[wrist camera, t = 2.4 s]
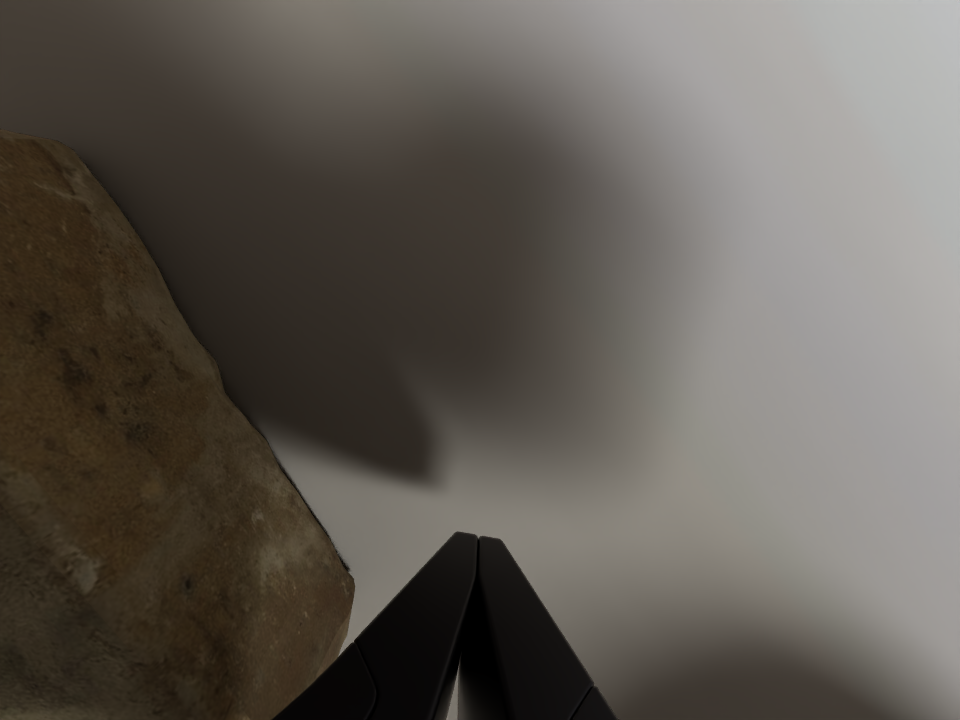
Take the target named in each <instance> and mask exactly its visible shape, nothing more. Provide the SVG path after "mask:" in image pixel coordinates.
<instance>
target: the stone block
mask: <svg viewBox="0 0 960 720" xmlns="http://www.w3.org/2000/svg"><path fill="white" fill-rule="evenodd" d="M354 591H355V584H354V579H353V577H352V576H351V575H350V574H349V573H348V572H347V570H346V569H345V568H344V567H343V565H342V563H341V561H340V559H339V557H338V555H337V553H336V551H335V549H334V547H333V545H332V543H331V541H330V539H329V538H328V536H327V535H326V534H325V532H324V531H323V530H322V528H321V527H320V525H319V524H318V523H317V521H316V520H315V519H314V517H313V516H312V514H311V512H310V511H309V509H308V508H307V506H306V505H305V503H304V502H303V500H302V498H301V497H300V495H299V494H298V492H297V491H296V490H295V488H294V487H293V486H292V484H291V483H290V482H289V480H288V479H287V478H286V476H285V475H284V473H283V472H282V471H281V469H280V468H279V466H278V464H277V461H276V459H275V457H274V455H273V453H272V451H271V449H270V447H269V445H268V442H267V441H266V440H265V439H264V438H263V437H262V436H261V435H260V433H259V432H258V431H257V430H256V429H255V428H254V427H253V426H252V425H251V424H250V423H249V422H248V420H247V419H246V417H245V416H244V415H243V414H242V413H241V412H240V411H239V409H238V408H237V407H236V406H235V405H234V404H233V403H232V401H231V400H230V399H229V397H228V396H227V395H226V393H225V392H224V388H223V384H222V380H221V376H220V372H219V368H218V365H217V363H216V361H215V360H214V358H213V357H212V356H211V355H210V354H209V353H208V352H207V351H206V350H205V349H204V347H203V346H202V345H201V344H200V343H199V342H198V341H197V340H196V338H195V337H194V335H193V334H192V332H191V331H190V329H189V327H188V325H187V324H186V322H185V320H184V319H183V317H182V315H181V313H180V312H179V310H178V308H177V306H176V305H175V303H174V301H173V299H172V297H171V295H170V292H169V290H168V288H167V286H166V284H165V282H164V280H163V277H162V275H161V273H160V271H159V269H158V267H157V266H156V264H155V262H154V261H153V259H152V257H151V256H150V254H149V253H148V251H147V249H146V248H145V246H144V244H143V243H142V241H141V239H140V238H139V236H138V235H137V233H136V232H135V230H134V229H133V228H132V226H131V225H130V223H129V222H128V220H127V219H126V218H125V216H124V215H123V213H122V212H121V210H120V209H119V208H118V206H117V205H116V203H115V202H114V201H113V200H112V198H111V197H110V196H109V195H108V193H107V192H106V191H105V190H104V188H103V187H102V186H101V185H100V183H99V182H98V181H97V180H96V178H95V177H94V176H93V175H92V173H91V172H90V171H89V170H88V168H87V167H86V166H85V164H84V163H83V162H82V161H81V159H80V158H79V157H78V156H77V154H76V153H75V152H74V151H73V149H71V148H69V147H68V146H66V145H64V144H62V143H60V142H58V141H56V140H50V139H45V138H40V137H35V136H30V135H24V134H19V133H14V132H10V131H7V130H3V129H0V720H271V719H272V718H274V717H275V716H276V715H277V714H278V713H279V712H281V711H282V710H283V709H284V708H285V707H286V706H287V705H288V704H290V703H291V702H292V701H293V700H294V699H295V698H296V697H298V696H299V695H300V694H301V693H302V692H303V691H304V690H305V689H307V688H308V687H309V686H310V685H311V684H312V683H313V682H314V681H315V680H316V679H317V678H318V677H319V676H320V675H321V674H322V673H323V672H324V671H325V670H326V669H327V668H328V667H329V666H330V665H331V664H332V663H333V662H334V661H335V660H336V659H337V658H338V655H339V652H340V649H341V647H342V644H343V642H344V640H345V638H346V636H347V632H348V626H349V620H350V615H351V609H352V604H353V598H354Z"/></svg>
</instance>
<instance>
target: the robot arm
mask: <svg viewBox="0 0 960 720" xmlns="http://www.w3.org/2000/svg"><path fill="white" fill-rule="evenodd" d="M459 662H460V663H459ZM458 666H459V675H458V720H619V719H618V718H617V717H616V715H615V714H614V712H613V711H612V709H611V708H610V706H609V705H608V703H607V702H606V700H605V698H604V697H603V695H602V694H601V692H600V691H599V689H598V688H597V687H596V686H594V682H593V680H592V679H591V677H590V676H589V674H588V673H587V671H586V669H585V668H584V666H583V665H582V663H581V662H580V660H579V659H578V657H577V656H576V654H575V652H574V651H573V649H572V648H571V646H570V645H569V643H568V642H567V640H566V639H565V637H564V635H563V634H562V632H561V631H560V629H559V628H558V626H557V625H556V623H555V622H554V620H553V618H552V617H551V615H550V614H549V612H548V611H547V609H546V608H545V606H544V605H543V603H542V601H541V600H540V598H539V597H538V595H537V594H536V592H535V591H534V589H533V588H532V586H531V584H530V583H529V581H528V580H527V578H526V577H525V575H524V574H523V572H522V571H521V569H520V567H519V566H518V564H517V563H516V561H515V560H514V558H513V557H512V555H511V554H510V552H509V550H508V549H507V547H506V546H505V544H504V543H503V541H502V540H500V539H498V538H492V537H486V536H480V537H479V539H478V537H477V536H476V535H475V534H470V533H464V532H455V533H454V534H453V535H452V536H451V537H450V538H449V539H448V541H447V542H446V543H445V544H444V545H443V546H442V547H441V548H440V549H439V550H438V551H437V552H436V553H435V554H434V556H433V557H432V558H431V559H430V560H429V561H428V562H427V563H426V564H425V565H424V566H423V567H422V568H421V569H420V570H419V572H418V573H417V574H416V575H415V576H414V577H413V578H412V579H411V580H410V581H409V582H408V583H407V584H406V585H405V586H404V588H403V589H402V590H401V591H400V592H399V593H398V594H397V595H396V596H395V597H394V598H393V599H392V600H391V601H390V603H389V604H388V605H387V606H386V607H385V608H384V609H383V610H382V611H381V612H380V613H379V614H378V615H377V616H376V617H375V619H374V620H373V621H372V622H371V623H370V624H369V625H368V626H367V627H366V628H365V629H364V630H363V631H362V632H361V634H360V635H359V636H358V637H357V638H356V639H355V640H354V643H351V644H350V645H349V646H348V647H347V648H346V649H345V650H344V651H343V652H342V653H341V655H340V656H339V657H338V658H337V659H336V660H335V661H334V662H333V663H332V664H331V665H330V666H329V667H328V668H327V669H326V670H325V671H324V672H323V673H322V674H321V675H320V676H319V677H318V678H317V679H316V680H315V681H314V682H313V683H312V684H311V685H310V686H309V687H308V688H307V689H305V690H304V691H303V692H302V693H301V694H300V695H299V696H298V697H296V698H295V699H294V700H293V701H292V702H291V703H290V704H288V705H287V706H286V707H285V708H284V709H283V710H282V711H281V712H279V713H278V714H277V715H276V716H275V717H274V718H272V719H271V720H446V718H447V714H448V710H449V706H450V702H451V698H452V694H453V690H454V685H455V681H456V676H457V671H458Z"/></svg>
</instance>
